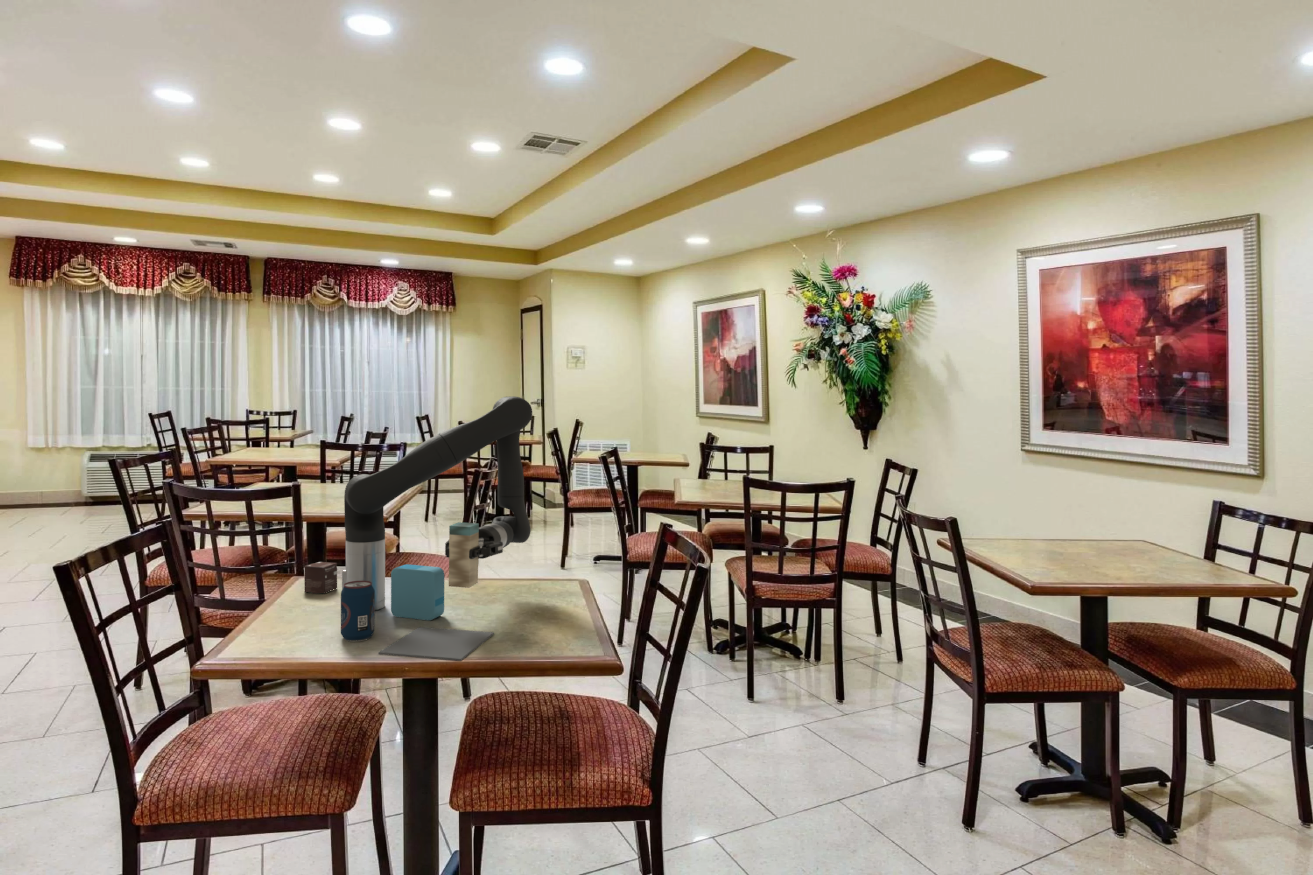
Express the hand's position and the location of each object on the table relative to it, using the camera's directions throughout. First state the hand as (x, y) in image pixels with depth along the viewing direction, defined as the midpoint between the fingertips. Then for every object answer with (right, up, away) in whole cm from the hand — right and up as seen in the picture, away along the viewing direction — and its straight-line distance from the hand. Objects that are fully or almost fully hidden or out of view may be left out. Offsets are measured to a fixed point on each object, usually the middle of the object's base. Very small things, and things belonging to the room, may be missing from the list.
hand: (459, 553), depth 174 cm
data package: (-13, -17, +11) cm, 24 cm away
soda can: (-21, -18, -6) cm, 28 cm away
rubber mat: (-2, -18, -9) cm, 20 cm away
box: (-46, -15, +32) cm, 58 cm away
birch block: (0, -8, +3) cm, 8 cm away
